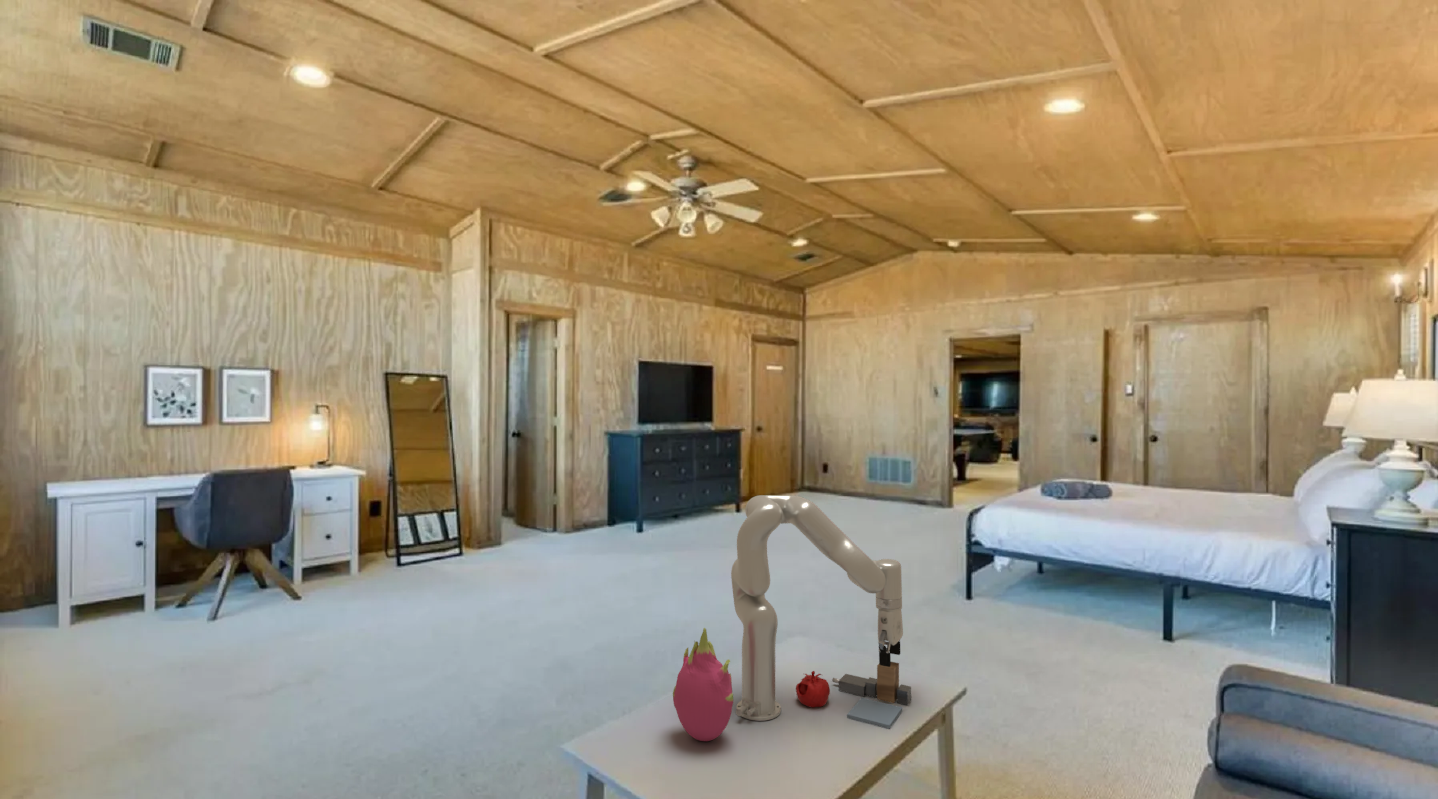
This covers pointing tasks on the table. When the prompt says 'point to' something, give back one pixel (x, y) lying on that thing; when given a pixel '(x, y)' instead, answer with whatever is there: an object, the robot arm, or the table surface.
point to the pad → (875, 713)
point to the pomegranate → (813, 690)
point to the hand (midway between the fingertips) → (890, 659)
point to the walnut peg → (887, 682)
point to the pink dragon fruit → (703, 692)
